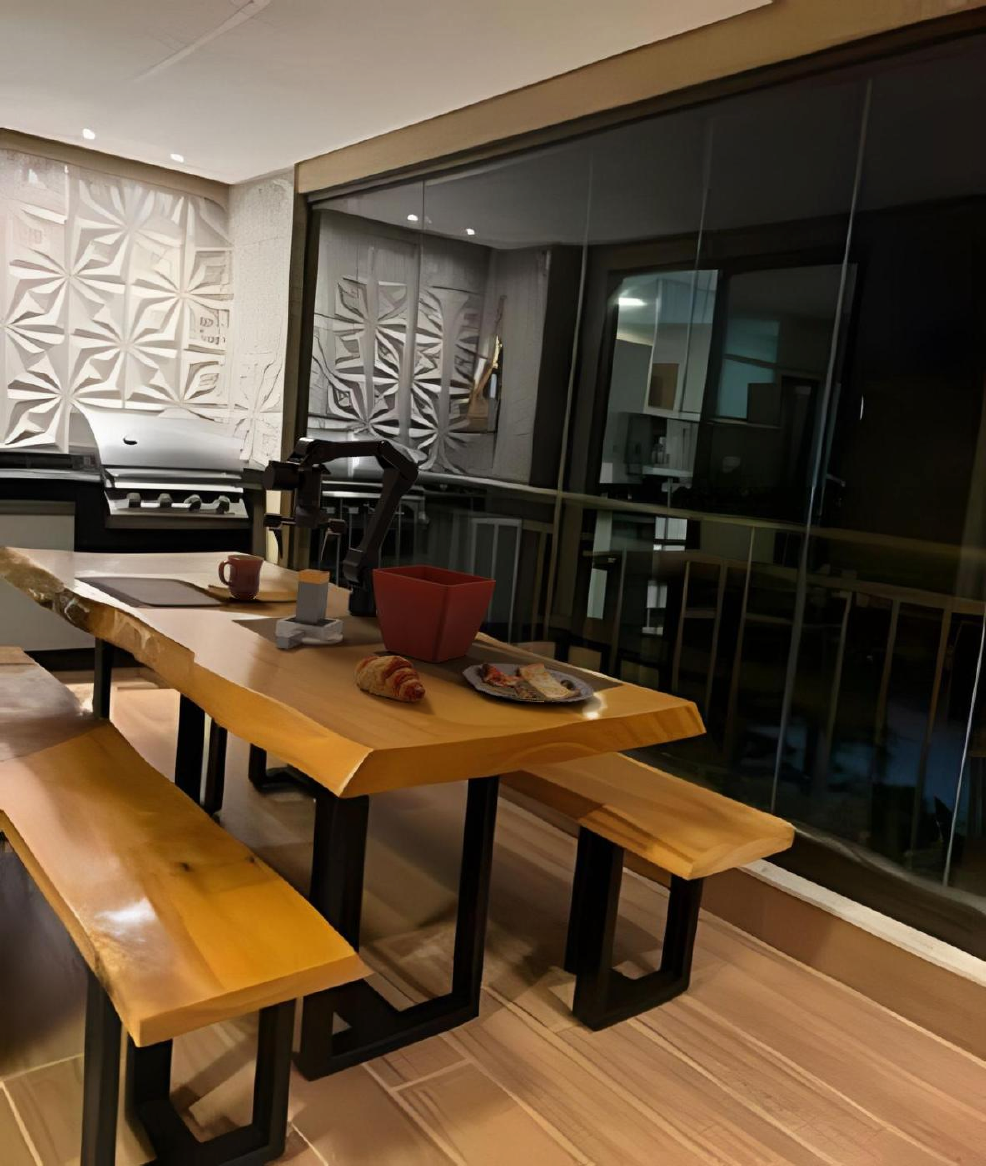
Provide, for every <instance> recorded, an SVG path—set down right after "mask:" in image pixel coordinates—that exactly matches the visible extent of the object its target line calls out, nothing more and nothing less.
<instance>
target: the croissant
mask: <svg viewBox="0 0 986 1166" xmlns="http://www.w3.org/2000/svg"><path fill="white" fill-rule="evenodd" d="M353 669H354V675H353V676H354V679H355V682H356V684H358V688H359V689H361V688H363V689H362V690H364V689H365V690H364V691H366V690H369V691H368V693H370V694H372V693H374V694H373V695H375V694H376V696H378V695H379V696H380V695H381V696H380V697H388V698H390V699H393V700H397V701H401V702H408V703H412V702H416V701H418V700H419V701H420V700H422V699H423V698H425V695H426V689H425V687H424V685H423V684H422V683H421V681H420V676H419V673H418V672H417V671H416V670H415V667H414V665H413V663H412V662H410V661H409V660H408V659H405V658H404V657H401V656H400V655H388V656H387V655H385V656H381V657H379V656H370V657H369V656H368V657H366V658H363V659H361V660H359V661H357V662H356V664H354V667H353Z"/></svg>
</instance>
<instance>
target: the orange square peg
mask: <svg viewBox="0 0 986 1166" xmlns="http://www.w3.org/2000/svg"><path fill="white" fill-rule="evenodd" d="M330 575H331V574H330V571H324V570H319V569H318V570H317V569H312V568H306V569H303V570H300V571H298V583H297V593H296V594H297V595H296V605H295V614H296V616H295V623H300V624H307V625H313V626H319V627H323V626H325V619H326V618H327V617H326V616H327V606H328V594H329V583H330Z"/></svg>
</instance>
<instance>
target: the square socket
mask: <svg viewBox="0 0 986 1166" xmlns="http://www.w3.org/2000/svg"><path fill="white" fill-rule="evenodd" d="M295 616H296V613H294V614H292V615H289V616H286V617H283V618H281V619H278V620H276V625H275V627H276V628H275V637H276V648H278V649H282V648H285V649H284V650H289V649H288V648H290V649H292V648H294V647H297V646H299V645H302V643H303V645H334V644H339V643H341V642H342V641H343V638H344V636H343V635H344V634H343V633H342V632H343V626H344V625H343V624H344V623H343V622H344V620H342V619H336V618H329V617H326V619H325V626H323V627H319V626H313V625H307V624H300V623H295ZM298 644H299V645H298Z"/></svg>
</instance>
